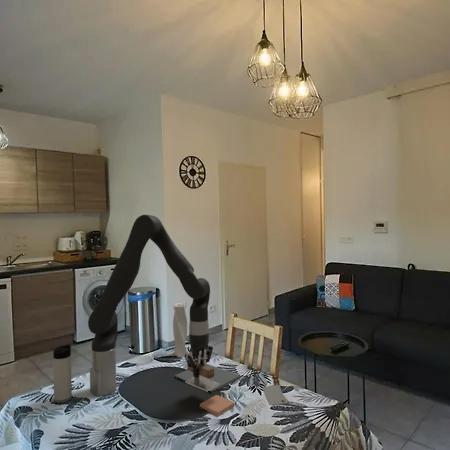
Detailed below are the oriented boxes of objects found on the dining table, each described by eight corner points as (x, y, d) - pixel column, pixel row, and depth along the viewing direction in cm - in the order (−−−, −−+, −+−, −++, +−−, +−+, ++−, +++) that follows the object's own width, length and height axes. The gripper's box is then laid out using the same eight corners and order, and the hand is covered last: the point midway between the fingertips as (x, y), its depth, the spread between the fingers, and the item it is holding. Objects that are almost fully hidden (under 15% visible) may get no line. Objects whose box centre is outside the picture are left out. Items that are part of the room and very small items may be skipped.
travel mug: (76, 396, 142) (75, 345, 142) (62, 404, 136) (61, 351, 136) (64, 393, 145) (63, 343, 144) (50, 401, 139) (49, 349, 138)
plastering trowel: (183, 381, 140) (182, 364, 140) (196, 375, 146) (195, 358, 146) (207, 392, 132) (207, 373, 132) (220, 385, 137) (220, 367, 137)
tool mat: (211, 393, 144) (211, 390, 144) (174, 377, 158) (174, 375, 158) (240, 378, 157) (240, 375, 157) (203, 364, 172) (203, 362, 172)
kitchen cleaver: (258, 375, 159) (281, 374, 158) (259, 377, 159) (282, 376, 158) (262, 404, 134) (289, 403, 134) (262, 407, 134) (290, 406, 134)
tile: (199, 408, 133) (218, 417, 127) (199, 403, 133) (218, 412, 127) (216, 399, 140) (234, 407, 134) (216, 394, 140) (234, 402, 134)
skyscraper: (192, 355, 184) (191, 300, 183) (177, 359, 179) (177, 303, 179) (184, 350, 191) (183, 297, 190) (170, 354, 186) (169, 299, 186)
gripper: (204, 325, 147) (205, 367, 147) (178, 333, 136) (179, 379, 137) (218, 328, 142) (218, 372, 142) (192, 338, 131) (193, 385, 132)
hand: (199, 375), depth 139 cm, fingers closed on plastering trowel, 2 cm apart
